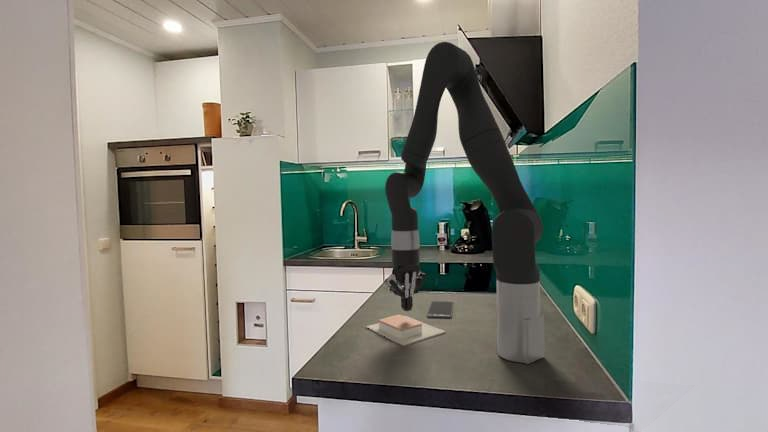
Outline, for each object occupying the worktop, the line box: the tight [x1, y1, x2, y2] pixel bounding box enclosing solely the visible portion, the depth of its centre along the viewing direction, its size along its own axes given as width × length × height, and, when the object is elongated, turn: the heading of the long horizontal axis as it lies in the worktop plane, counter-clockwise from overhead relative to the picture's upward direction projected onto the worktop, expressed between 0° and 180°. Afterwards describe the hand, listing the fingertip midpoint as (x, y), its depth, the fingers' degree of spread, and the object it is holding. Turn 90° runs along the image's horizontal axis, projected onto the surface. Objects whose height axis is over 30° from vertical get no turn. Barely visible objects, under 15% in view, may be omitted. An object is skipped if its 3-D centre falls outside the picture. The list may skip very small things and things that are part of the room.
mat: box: [365, 315, 446, 347], centre depth 109 cm, size 17×14×1 cm
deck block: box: [378, 314, 423, 339], centre depth 107 cm, size 10×2×7 cm
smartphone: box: [426, 300, 454, 319], centre depth 126 cm, size 7×1×16 cm
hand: (407, 310), depth 108 cm, fingers closed
